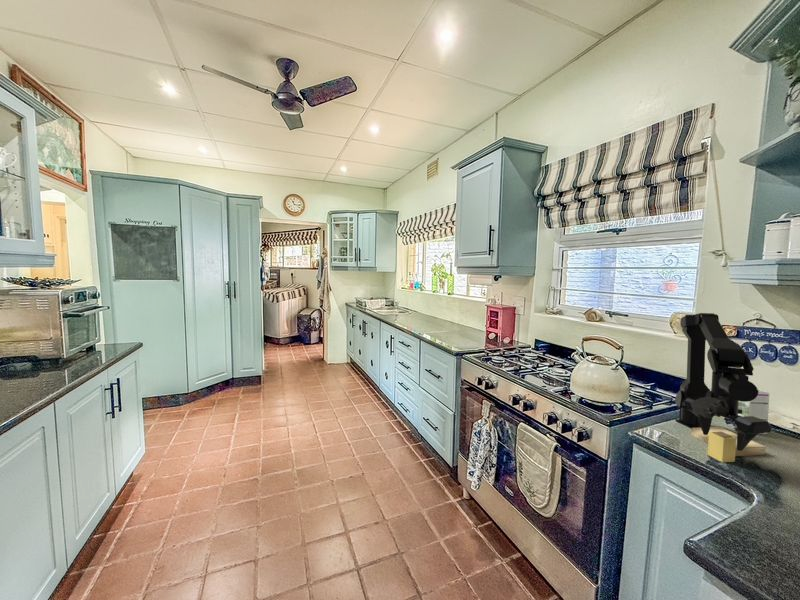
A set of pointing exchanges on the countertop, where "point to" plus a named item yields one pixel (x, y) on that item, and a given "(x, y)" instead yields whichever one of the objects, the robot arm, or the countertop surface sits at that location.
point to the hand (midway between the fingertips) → (721, 442)
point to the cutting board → (750, 449)
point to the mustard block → (722, 446)
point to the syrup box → (756, 406)
